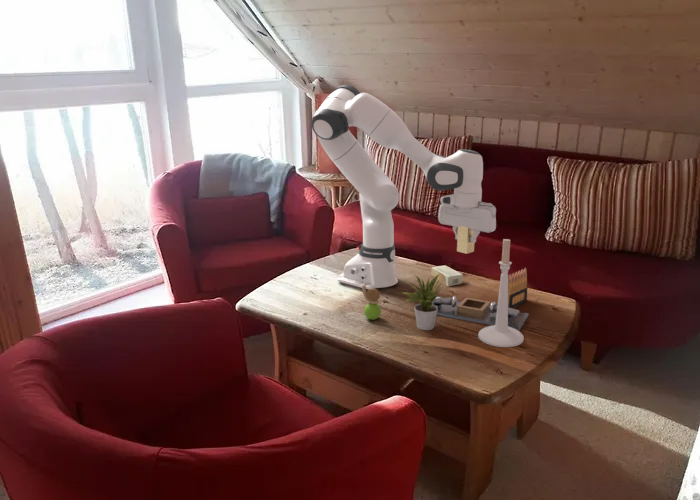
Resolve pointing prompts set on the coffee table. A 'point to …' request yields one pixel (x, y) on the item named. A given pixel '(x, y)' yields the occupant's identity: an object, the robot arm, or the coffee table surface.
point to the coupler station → (478, 313)
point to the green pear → (371, 303)
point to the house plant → (425, 303)
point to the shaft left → (445, 301)
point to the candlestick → (502, 311)
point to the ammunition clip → (517, 288)
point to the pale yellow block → (465, 240)
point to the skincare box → (447, 275)
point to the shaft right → (511, 312)
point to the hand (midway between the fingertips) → (465, 240)
